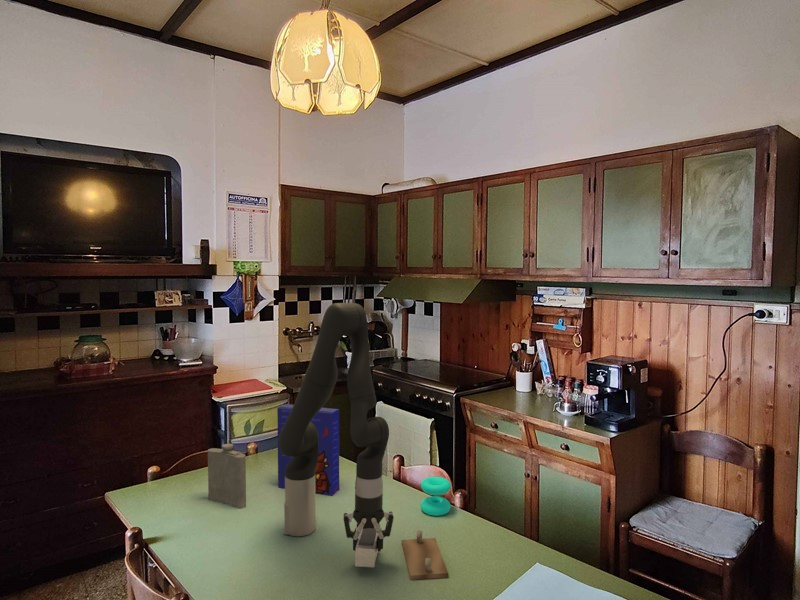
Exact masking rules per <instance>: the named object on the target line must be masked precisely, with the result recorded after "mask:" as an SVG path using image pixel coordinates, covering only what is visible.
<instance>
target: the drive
mask: <svg viewBox="0 0 800 600" xmlns="http://www.w3.org/2000/svg"><path fill="white" fill-rule="evenodd" d="M378 553H379V552H378V534H377V532H376V530H375V527H374V528H366V529H362V531H361V533H360V534H359V537H358V542H357V545H356V552H355V555H354V556H355V559H354V561H355V564H354V566H355V567H360V568H361V567H362V568H375V565H376V562H377V561H376V560H377V555H378Z"/></svg>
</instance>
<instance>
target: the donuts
mask: <svg viewBox="0 0 800 600" xmlns="http://www.w3.org/2000/svg"><path fill="white" fill-rule="evenodd" d="M451 487H452V484H451V482H450V481H449V480H448V479H447V478H445V477H442V476H429V477H425V478H424V479H423V480H422V481H421V483H420V488H421V490H422V491H423V492H424V493H425V494H427V495H430V496H427V497H425V498H423V500H422V501H421V503H420V508H421V510H422V512H423V513H425V515H429V516H433V517H434V516H435V517H437V516H438V517H439V516H444V515H447V514H448V513H449V512H450V511H451V507H452V506H451V503H450V501H449V500H448V499H447V498H445V497H442V495H446V494H447V493H449V492H450V490H451V489H452V488H451Z"/></svg>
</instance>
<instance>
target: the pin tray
mask: <svg viewBox="0 0 800 600" xmlns="http://www.w3.org/2000/svg"><path fill="white" fill-rule="evenodd" d="M401 547H402V551H403V554H404V560H405V563H406V568H407V571H408V576H409V580H410V581H411V580H412V581H415V580H427V579H428V580H430V579H444V578H445V579H446V578H449V572H448V569H447V566H446V563H445V561H444V558H443V555H442V553H441V550H440V547H439V544H438V542H437V539H436V537H431V538H430V537H427V538H423V530H417V531H416V538H414V539H410V538H409V539H401Z"/></svg>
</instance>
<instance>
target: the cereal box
mask: <svg viewBox="0 0 800 600" xmlns="http://www.w3.org/2000/svg"><path fill="white" fill-rule="evenodd" d="M293 406H294V404H290V403H286V404H282V405H280V406H279V407H277V409H276V411H277V412H276V413H277V488H278V489H283V490H285V467H286V465H287V464H288V463H289V462H290V461H291V460H292V459H293V457H287V456H285V455H283V454H282V452H281V450H280V448H279V436H280V433H281V430H282V428H283V426H284V424H285V422H286V420H287V418H288V416H289V414H290V412H291V410H292V408H293ZM310 422H312V423H313V424H314V425H315V427H316V429H317V431H318V436H319V450H318V464H317V467H316V470H315V495H322V496H327V497H328V496H329V497H333V496H334V495H335V494H336V493H338V492H339V490H340V409H339V408H330V407H329V408H328V407H322V408H321V409H320V410H319V411H318V413H317V414H316V415H315V416H314V417H313V419H312V420H311V421H310Z"/></svg>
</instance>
